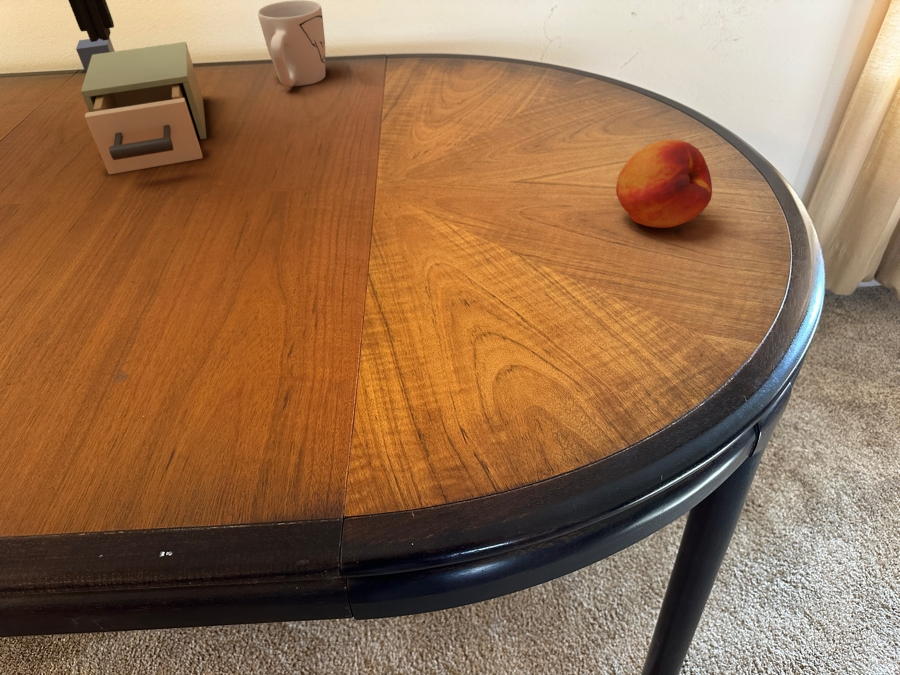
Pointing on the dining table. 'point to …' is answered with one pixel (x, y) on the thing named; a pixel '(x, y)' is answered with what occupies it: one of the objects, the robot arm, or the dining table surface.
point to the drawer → (144, 128)
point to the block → (92, 50)
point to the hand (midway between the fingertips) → (101, 36)
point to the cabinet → (145, 75)
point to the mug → (295, 40)
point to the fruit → (665, 184)
